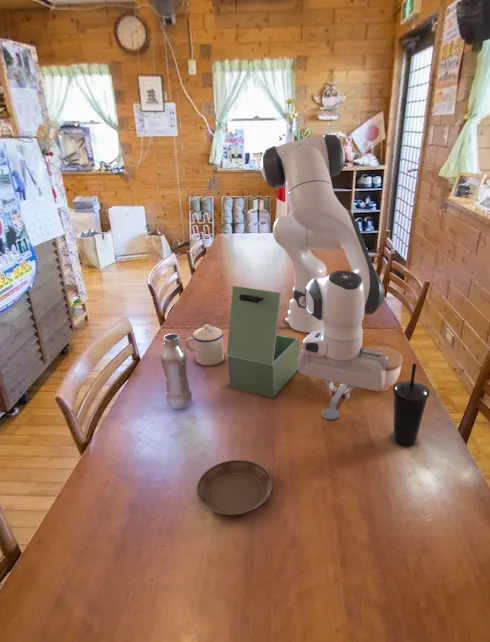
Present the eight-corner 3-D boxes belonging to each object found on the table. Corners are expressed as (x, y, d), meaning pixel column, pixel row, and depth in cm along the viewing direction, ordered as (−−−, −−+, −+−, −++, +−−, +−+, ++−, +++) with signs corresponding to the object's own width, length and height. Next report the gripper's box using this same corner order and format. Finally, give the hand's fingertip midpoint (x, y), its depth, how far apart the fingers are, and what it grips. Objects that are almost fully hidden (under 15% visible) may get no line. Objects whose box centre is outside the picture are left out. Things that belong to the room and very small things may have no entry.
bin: (258, 359, 141) (257, 330, 137) (299, 368, 136) (299, 338, 131) (229, 386, 127) (227, 355, 122) (273, 397, 121) (272, 366, 117)
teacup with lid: (227, 353, 145) (225, 319, 140) (221, 367, 137) (218, 332, 132) (191, 351, 146) (187, 318, 141) (182, 365, 138) (178, 330, 133)
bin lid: (234, 285, 119) (225, 286, 115) (281, 292, 114) (273, 293, 110) (228, 354, 123) (219, 357, 119) (273, 364, 117) (265, 367, 113)
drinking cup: (422, 433, 107) (433, 358, 98) (420, 454, 100) (432, 376, 92) (389, 427, 109) (397, 353, 100) (385, 446, 103) (394, 370, 94)
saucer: (204, 468, 97) (203, 458, 96) (273, 469, 97) (273, 459, 96) (191, 524, 84) (189, 513, 83) (270, 525, 83) (270, 514, 82)
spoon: (337, 391, 112) (337, 381, 111) (352, 394, 111) (353, 384, 109) (319, 419, 102) (319, 408, 101) (336, 423, 101) (336, 413, 99)
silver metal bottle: (197, 401, 120) (190, 333, 112) (182, 415, 115) (173, 344, 106) (177, 396, 123) (168, 329, 114) (162, 409, 117) (151, 340, 109)
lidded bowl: (344, 385, 126) (346, 350, 122) (369, 368, 135) (371, 335, 130) (384, 402, 118) (388, 365, 114) (407, 383, 127) (412, 348, 122)
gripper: (391, 346, 99) (386, 399, 106) (305, 330, 107) (304, 380, 114) (385, 360, 94) (379, 414, 100) (294, 342, 102) (294, 393, 108)
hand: (339, 396), depth 107 cm, fingers closed on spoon
